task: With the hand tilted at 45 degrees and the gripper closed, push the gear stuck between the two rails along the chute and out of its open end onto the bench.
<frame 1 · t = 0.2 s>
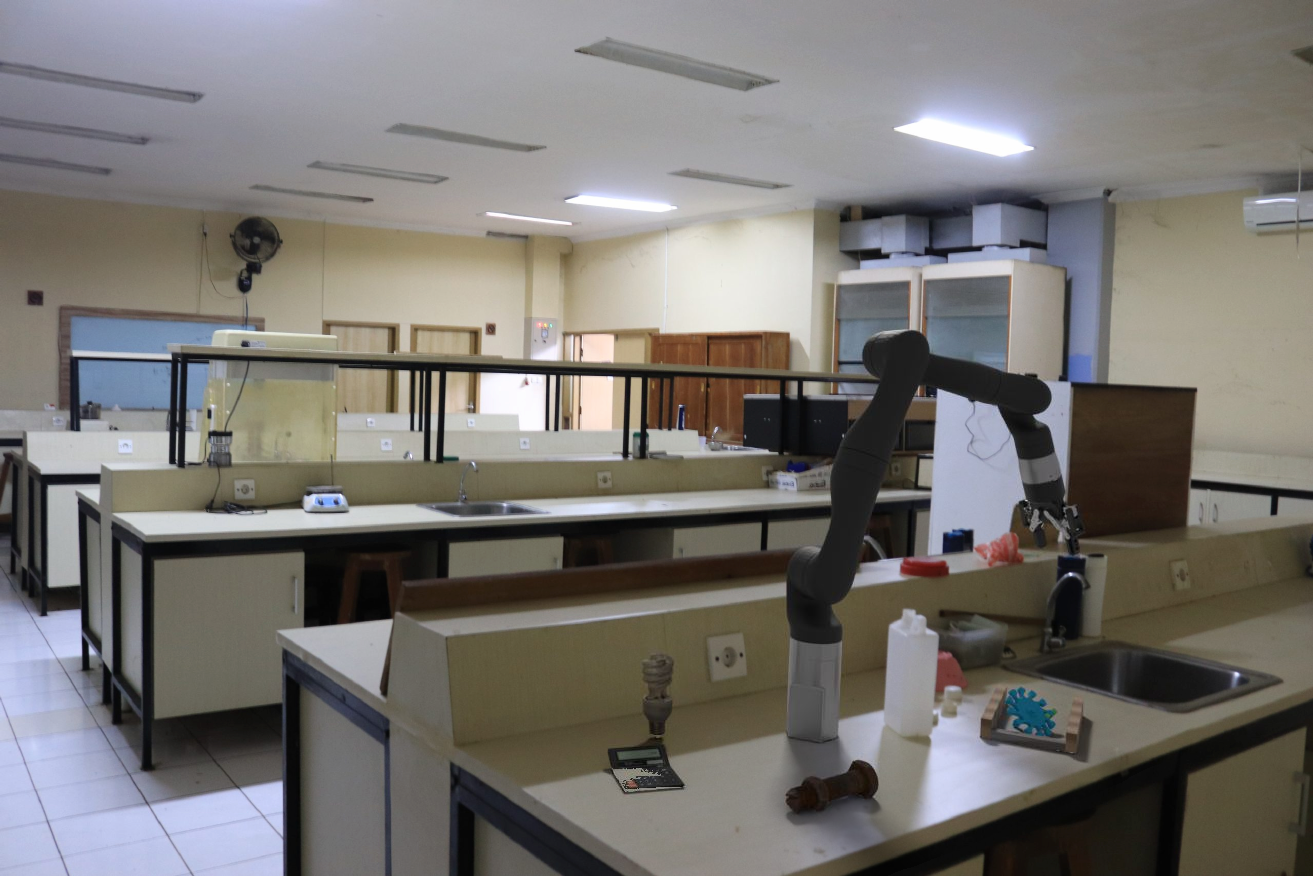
hand: (1058, 550, 197), 31 cm above the lab bench, tool tilted 20°, fingers open, 8 cm apart
bolt: (828, 805, 146), on the lab bench
chute: (1033, 726, 184), on the lab bench
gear: (1031, 733, 180), on the lab bench
light bulb: (655, 738, 170), on the lab bench
calculator: (644, 778, 153), on the lab bench
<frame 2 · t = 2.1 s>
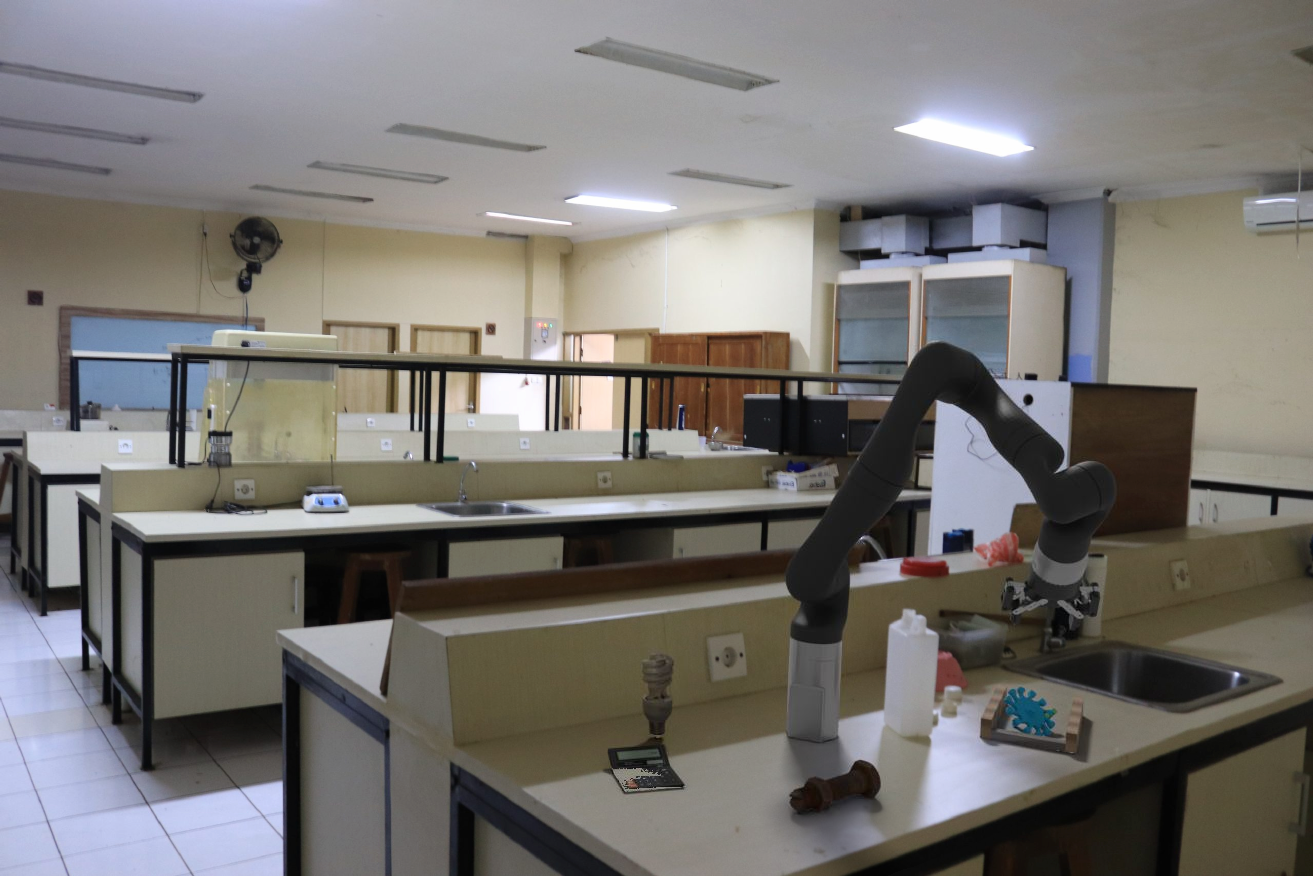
hand: (1043, 623, 159), 25 cm above the lab bench, tool tilted 45°, fingers open, 8 cm apart
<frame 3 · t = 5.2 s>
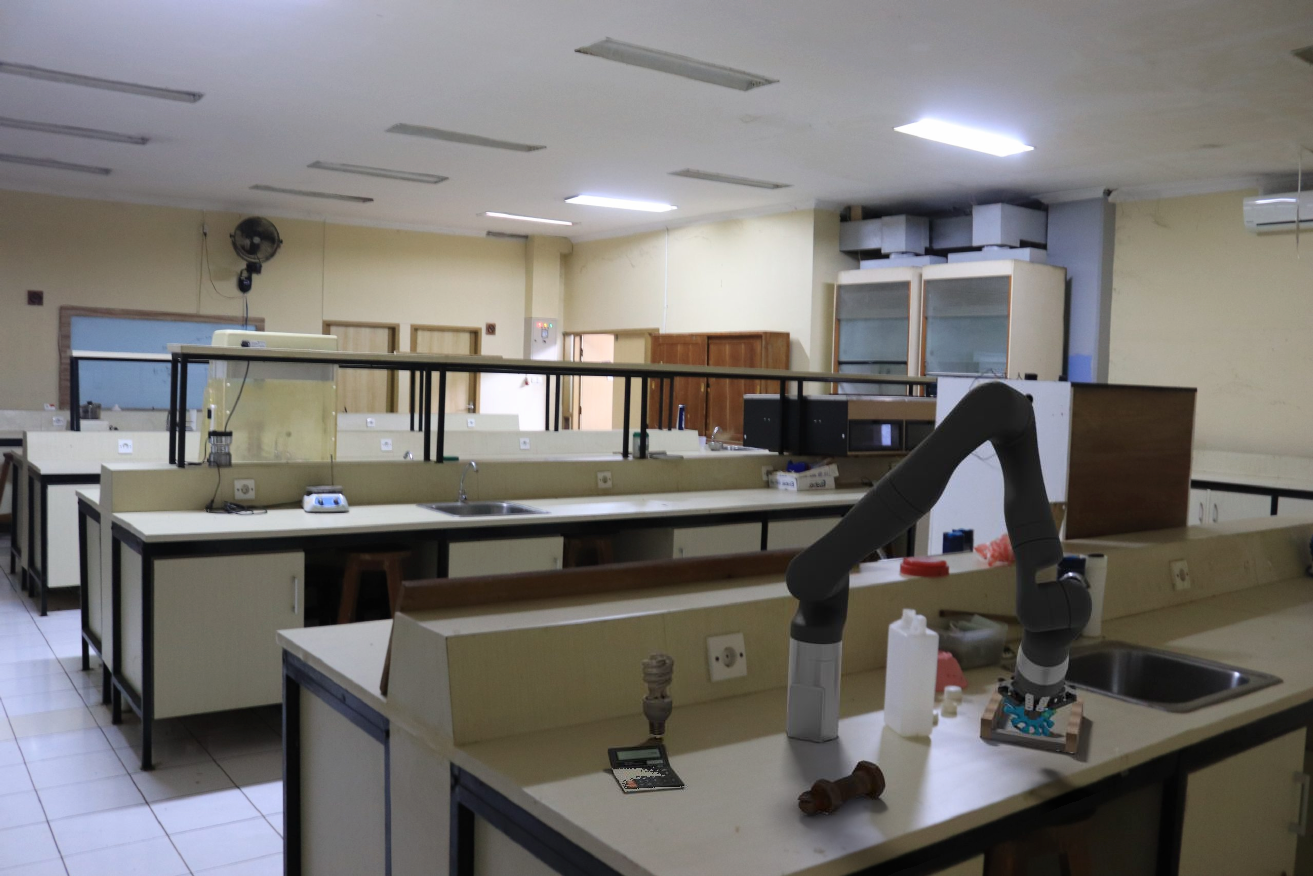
hand: (1031, 715, 169), 7 cm above the lab bench, tool tilted 45°, fingers closed
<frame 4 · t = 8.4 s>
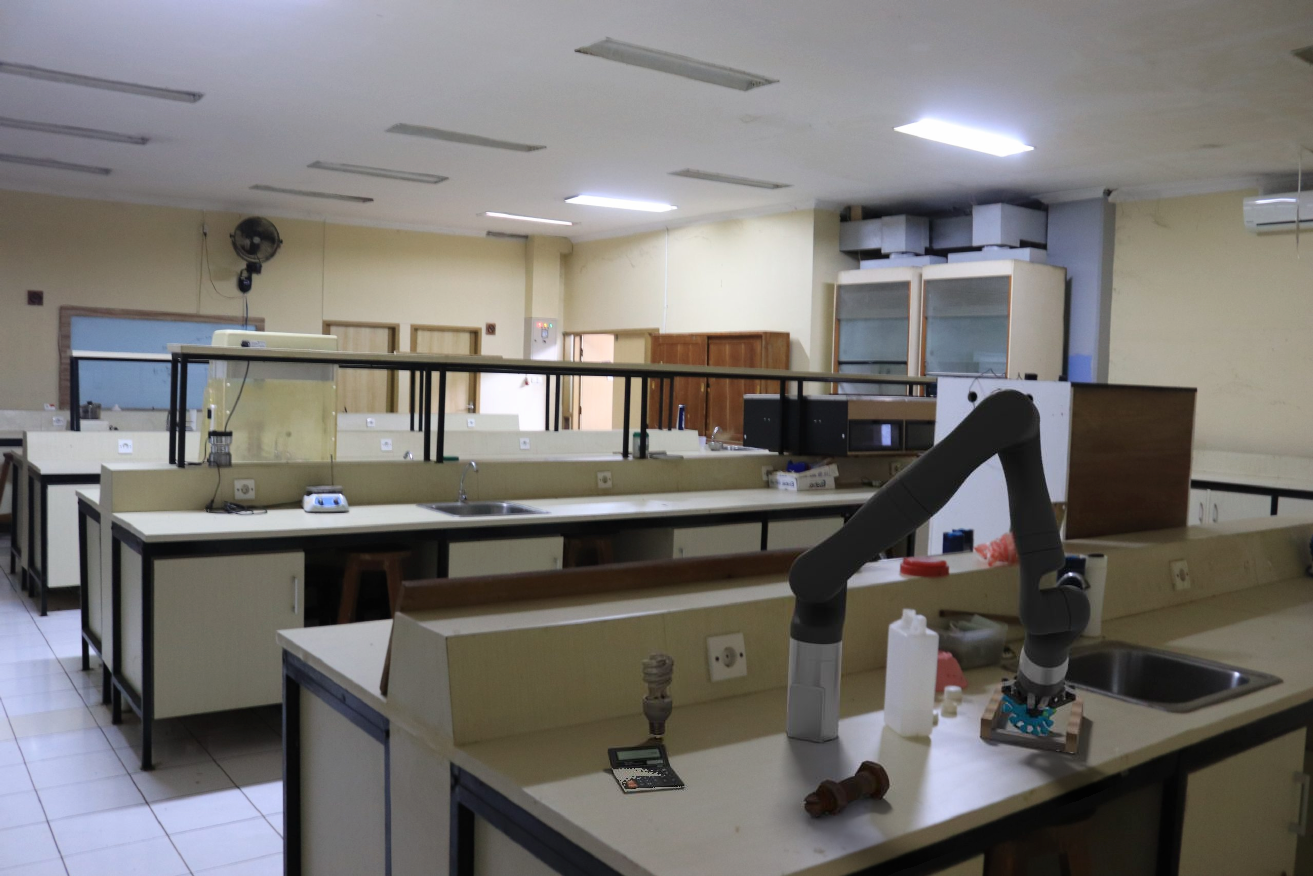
hand: (1033, 713, 179), 4 cm above the lab bench, tool tilted 45°, fingers closed
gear: (1028, 731, 181), on the lab bench, touching gripper
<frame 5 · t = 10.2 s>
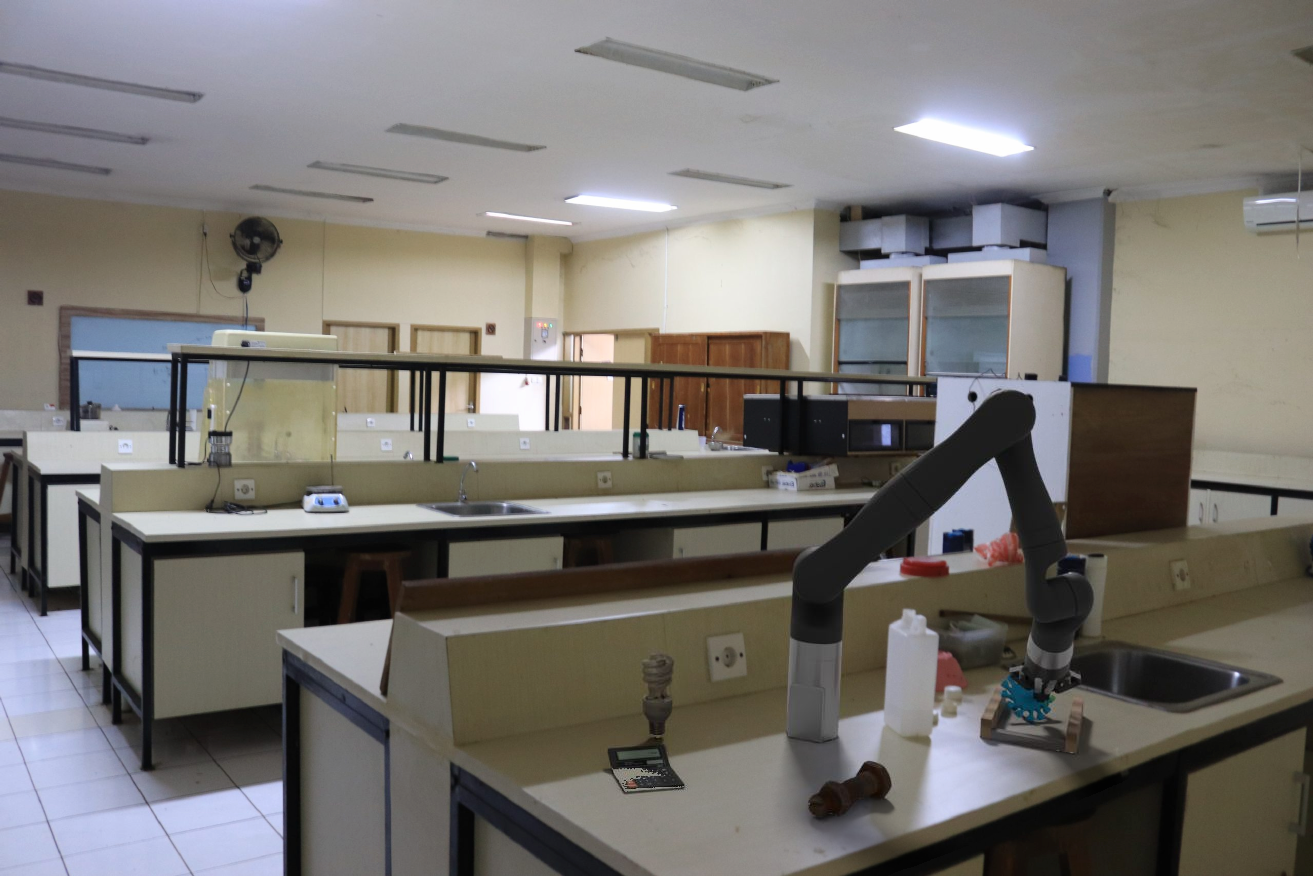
hand: (1040, 698, 188), 4 cm above the lab bench, tool tilted 45°, fingers closed
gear: (1026, 717, 189), on the lab bench, touching gripper
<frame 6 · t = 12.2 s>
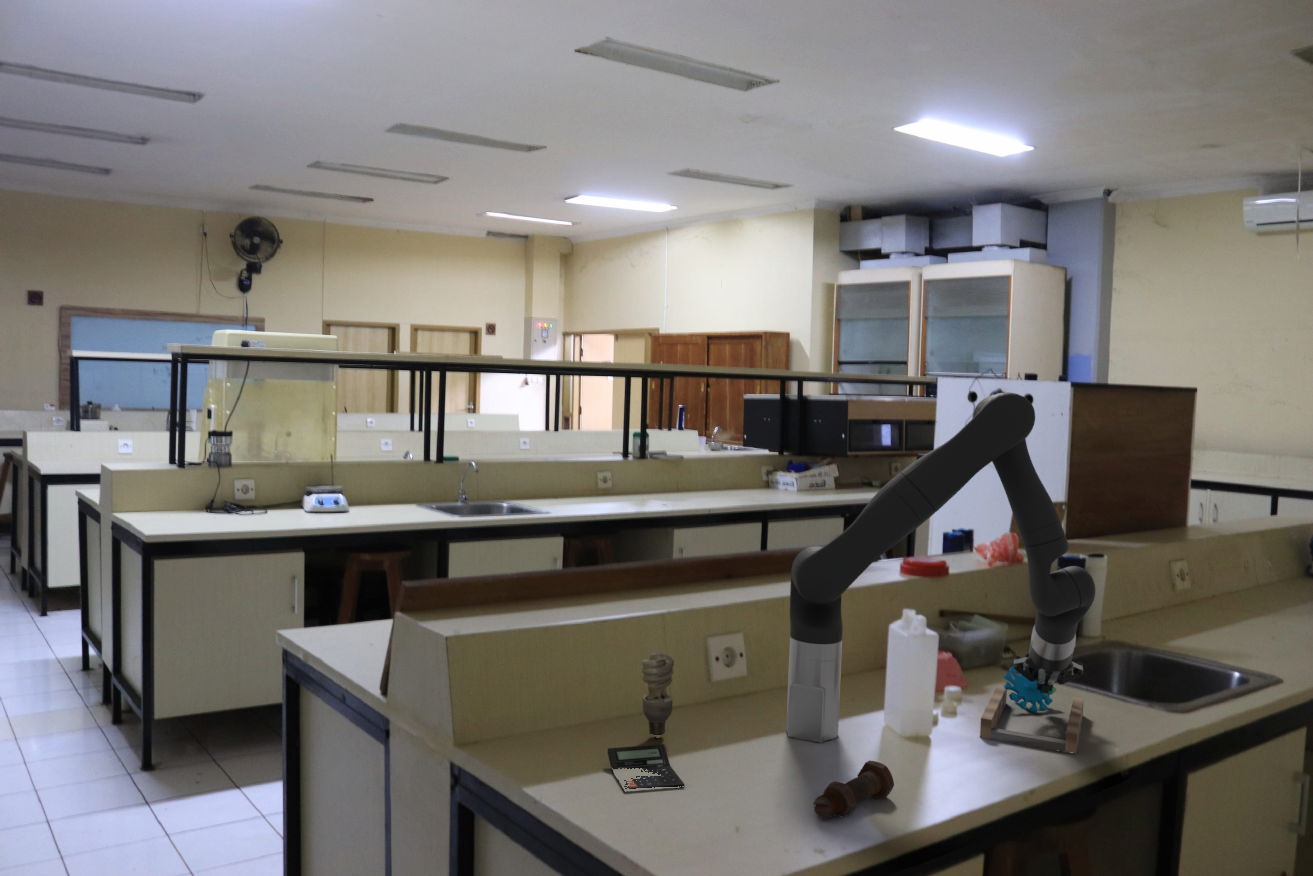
hand: (1043, 689, 194), 4 cm above the lab bench, tool tilted 45°, fingers closed
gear: (1029, 708, 195), on the lab bench, touching gripper
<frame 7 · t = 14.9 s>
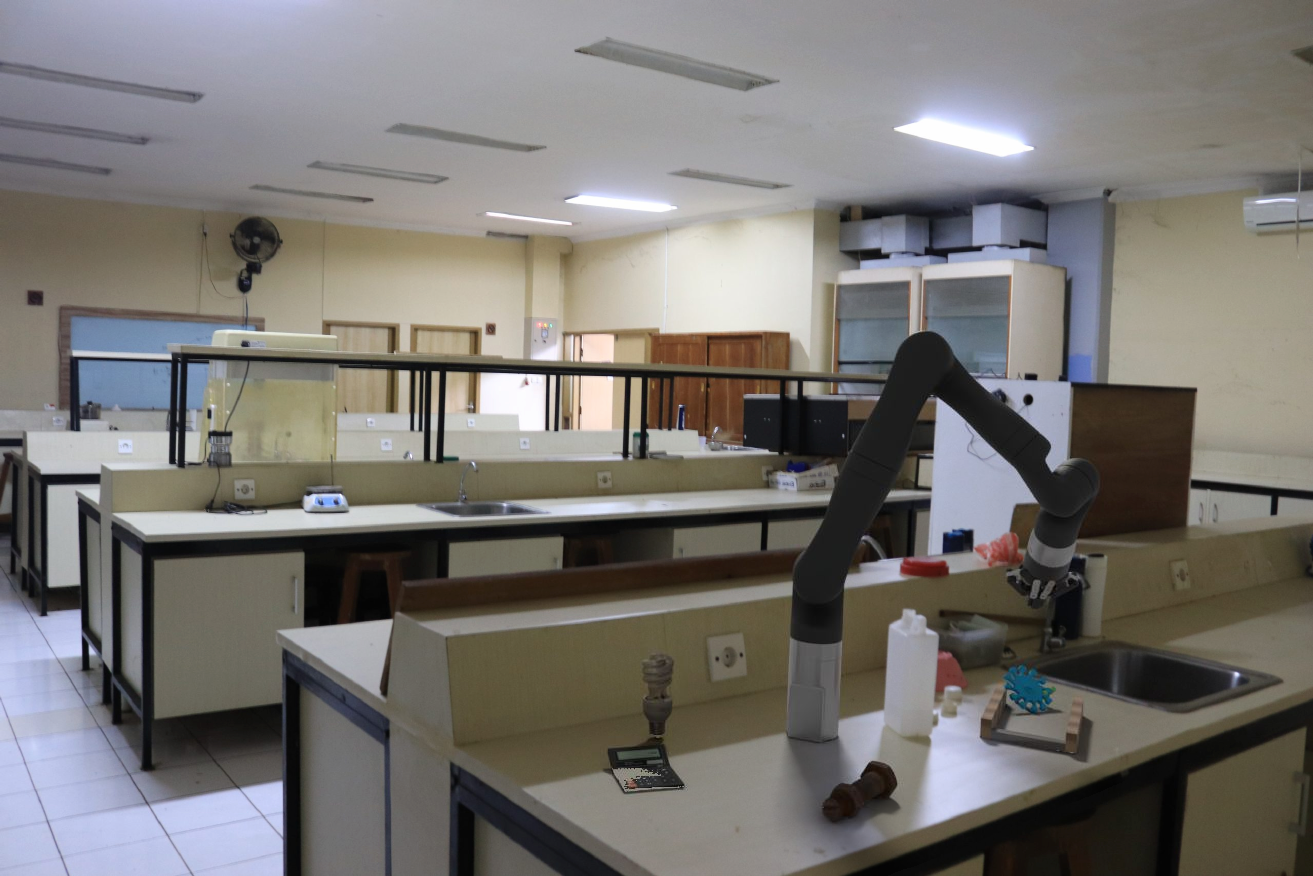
hand: (1033, 605, 184), 23 cm above the lab bench, tool tilted 45°, fingers closed
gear: (1029, 708, 195), on the lab bench
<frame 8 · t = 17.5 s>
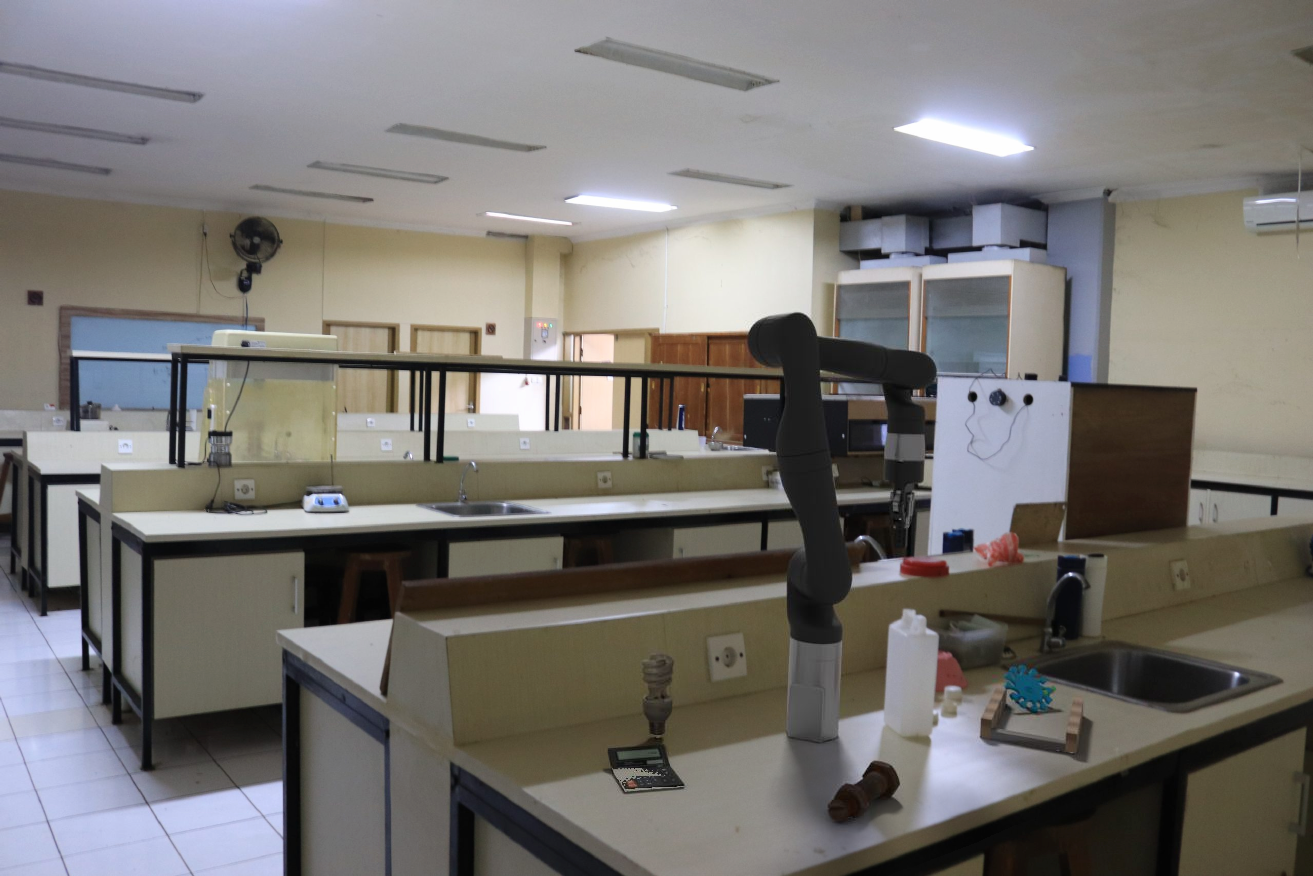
hand: (900, 547, 188), 32 cm above the lab bench, tool pointing down, fingers closed
at the end: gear inside the target area (7.8 cm from its centre), on the lab bench; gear tilted 0°; the gripper is holding nothing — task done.
